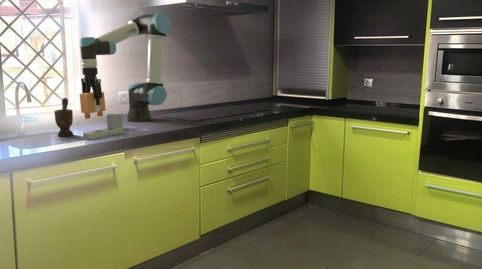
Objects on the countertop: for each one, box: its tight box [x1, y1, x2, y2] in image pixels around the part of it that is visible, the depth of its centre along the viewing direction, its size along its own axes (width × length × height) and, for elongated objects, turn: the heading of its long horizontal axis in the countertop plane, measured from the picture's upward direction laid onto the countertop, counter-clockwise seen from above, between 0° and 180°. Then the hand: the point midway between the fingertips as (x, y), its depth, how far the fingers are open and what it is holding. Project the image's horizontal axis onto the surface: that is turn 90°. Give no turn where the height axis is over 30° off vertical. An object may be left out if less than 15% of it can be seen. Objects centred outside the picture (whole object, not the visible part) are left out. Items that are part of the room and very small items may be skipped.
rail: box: [82, 126, 126, 140], centre depth 225 cm, size 22×5×3 cm, turn 146°
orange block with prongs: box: [79, 91, 107, 120], centre depth 234 cm, size 11×6×13 cm, turn 146°
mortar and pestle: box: [54, 97, 74, 137], centre depth 224 cm, size 12×9×20 cm
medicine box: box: [106, 112, 124, 128], centre depth 245 cm, size 8×4×9 cm, turn 92°
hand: (93, 110), depth 235 cm, fingers closed on orange block with prongs, 6 cm apart
